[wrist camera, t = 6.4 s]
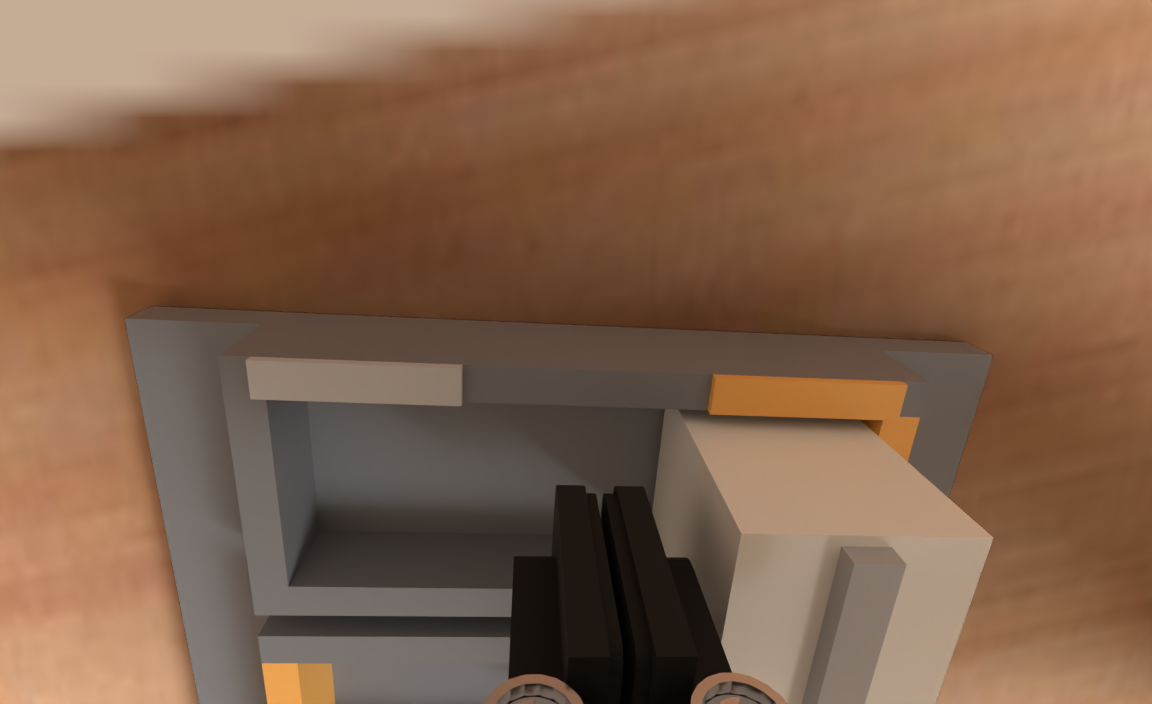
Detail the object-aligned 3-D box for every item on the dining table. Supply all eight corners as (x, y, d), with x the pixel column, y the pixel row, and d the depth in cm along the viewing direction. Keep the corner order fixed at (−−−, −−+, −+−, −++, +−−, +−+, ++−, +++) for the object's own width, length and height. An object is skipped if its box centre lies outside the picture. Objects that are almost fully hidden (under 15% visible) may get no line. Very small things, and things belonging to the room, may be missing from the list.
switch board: (965, 341, 16) (1067, 391, 13) (855, 714, 20) (912, 817, 17) (152, 306, 14) (46, 352, 11) (225, 718, 18) (163, 832, 15)
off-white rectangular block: (831, 394, 14) (1013, 554, 9) (799, 534, 16) (940, 748, 10) (667, 388, 14) (750, 551, 9) (649, 531, 16) (711, 751, 10)
